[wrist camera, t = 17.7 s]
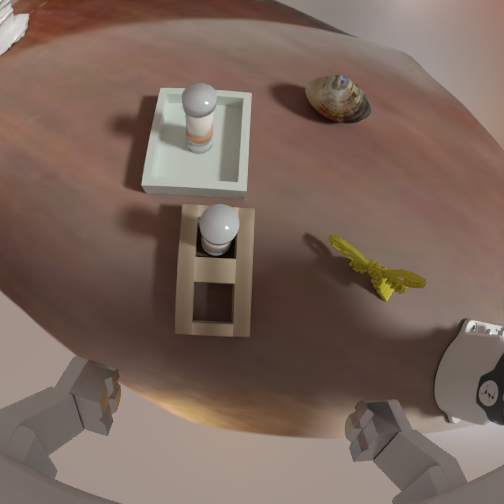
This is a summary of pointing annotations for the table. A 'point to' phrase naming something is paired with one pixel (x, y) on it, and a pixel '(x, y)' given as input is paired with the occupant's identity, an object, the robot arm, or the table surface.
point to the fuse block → (214, 275)
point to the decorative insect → (378, 271)
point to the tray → (199, 165)
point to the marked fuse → (199, 116)
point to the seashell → (338, 99)
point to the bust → (10, 26)
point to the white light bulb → (218, 229)
